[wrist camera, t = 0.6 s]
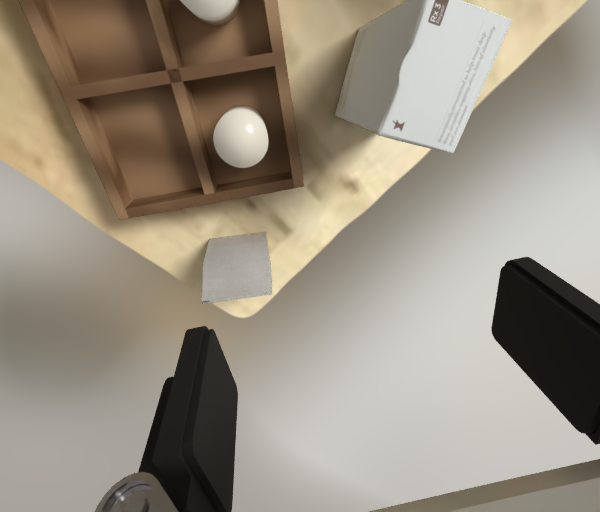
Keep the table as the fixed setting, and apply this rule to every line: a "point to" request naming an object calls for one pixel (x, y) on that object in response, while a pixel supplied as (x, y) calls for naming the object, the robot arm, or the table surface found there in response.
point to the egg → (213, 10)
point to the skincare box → (421, 71)
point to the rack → (169, 96)
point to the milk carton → (236, 268)
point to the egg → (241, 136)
